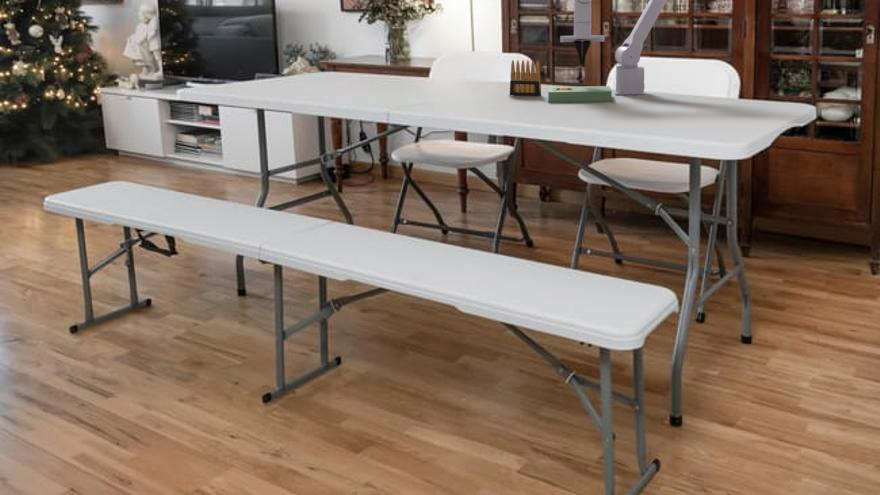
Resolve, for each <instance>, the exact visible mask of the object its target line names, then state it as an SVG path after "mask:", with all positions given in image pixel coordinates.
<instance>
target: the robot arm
mask: <svg viewBox="0 0 880 495" xmlns="http://www.w3.org/2000/svg"><path fill="white" fill-rule="evenodd" d="M592 1H593V0H574V4H573V6H574V8H573V35H560V37H559V41H560V42H559V43H573V44H574V47H575V49H576V52H577V55H578V58H579V59H578V60H579V65H585V60H586V55H587V53H588V50H589V47H590V46H591V43H592V42H593V43H594V42H595V43H597V42H605V36H606V35H597V34H595V35H594V34H593V35H592V11H593V10H592ZM667 1H668V0H648V2H647V4H646V6H645V7H644V10H643V11H642V13H641V15H640V16H639V18H638V20H637V22H636V23H635V25H634V26H633V27H634V28H633V29H632V31H631V32H630V34H629V36H628V37H627V38H626V39H625V40H624V41H623V43H622V44H621V46H619V47H618V48H617V49H616V51H615V53H614V59H615V61H616V62H617V64H616V65H615V66H616V68H615V70H616V71H615V90H613V93H614V95H618V96H619V95H620V96H621V95H624V96H625V95H644V94H645V67H644V66H639V62H640V58H641V53H642V51H643V49H644V43H645V41H646V39H647V37H648V35H649V33H650V31H651V30H652V28H653V26H654V24H655V23H656V20H657V19H658V17H659V16H660V14H661V13H662V11H663V8H664V6H665V5H666V3H667Z"/></svg>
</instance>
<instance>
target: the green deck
mask: <svg viewBox="0 0 880 495" xmlns="http://www.w3.org/2000/svg"><path fill="white" fill-rule="evenodd" d="M561 88H567V89H568V90H559V89H561ZM547 91H548V94H547V95H548V103H598V102H599V103H607V102H608V103H610V102H611V103H612V97H613V95H612V89H611V87H610V86H609V85H598V86H597V85H595V86H594V85H591V86H590V85H589V86H582V85H581V86H548V90H547Z"/></svg>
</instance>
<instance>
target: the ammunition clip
mask: <svg viewBox="0 0 880 495" xmlns="http://www.w3.org/2000/svg"><path fill="white" fill-rule="evenodd" d="M515 64H516V66H515ZM540 68H541V67H540V61H539V60H538V59H537V60H536V64H535V62H534V60H533V59H532V61H531V64H530V61H529V60H526V65H525V61H524V59H523V60H522V61H521V65H520V60H519V59H517V60H516V63H515V61H514V59H512V60H511V65H510V81H509V96H510V95H514V96H515V97H541V96H542V86H541V85H542V84H541V69H540ZM514 96H513V97H514Z"/></svg>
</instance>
